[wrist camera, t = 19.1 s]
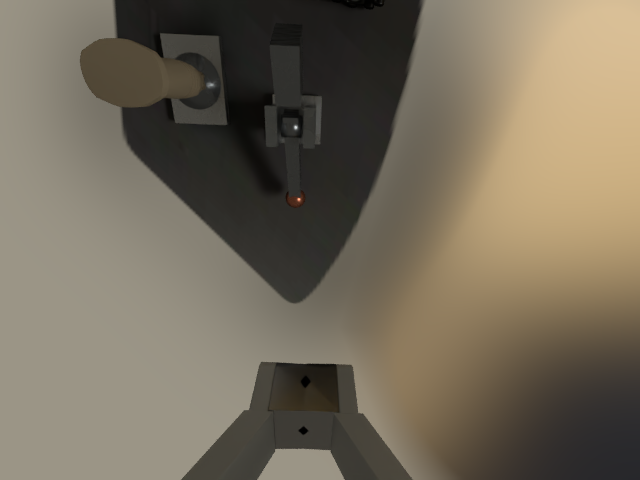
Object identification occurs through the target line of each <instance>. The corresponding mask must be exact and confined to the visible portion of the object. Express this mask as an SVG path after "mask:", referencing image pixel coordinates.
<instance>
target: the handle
mask: <svg viewBox="0 0 640 480" xmlns="http://www.w3.org/2000/svg"><path fill="white" fill-rule="evenodd" d="M80 64H81V70H82V74H83V77H84V79H85V82H86V83H87V85H88V87H89V89H90V90H91V91H92V93H93V94H94V95H95V96H96V97H97V98H100V99H102V100H104V101H106V102H108V103H111V104H113V105H116V106H119V107H146V106H150V105H152V104H154V103H156V102H158V101H159V100H161V99H163V98H171V99H183V98H190V97H193V96H197V95H198V94H199V92H200V91H202V90H204V89H205V88H206V85H205V82H204V77H205V76H204V74H203V73H202V72H200V71H198V70H197V69H196V68H194V67H193V66H191V65H190V64H188V63H185V62H183V61H179V60H176V59H172V58H160V56H159V55H158V54H157V52H155V51H153V50H151V49H149V48H147V47H145V46H143V45H141V44H139V43H136V42H134V41H131V40H127V39H120V38H106V39H99V40H97V41H95V42H93V43H92V44H91V45H89V46H88V47H86V48H85V49H84V50H82V52H81V56H80Z"/></svg>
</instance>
